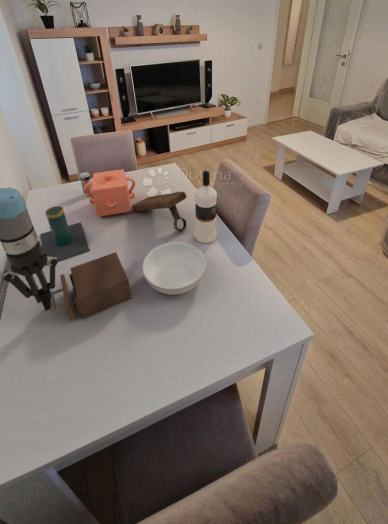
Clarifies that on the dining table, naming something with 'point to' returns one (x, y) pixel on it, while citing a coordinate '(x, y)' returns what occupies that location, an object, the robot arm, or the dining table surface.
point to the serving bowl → (174, 267)
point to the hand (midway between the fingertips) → (48, 306)
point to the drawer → (65, 298)
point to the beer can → (84, 180)
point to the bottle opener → (163, 205)
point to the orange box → (110, 192)
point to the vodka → (205, 211)
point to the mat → (70, 250)
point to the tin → (59, 225)
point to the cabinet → (100, 284)
